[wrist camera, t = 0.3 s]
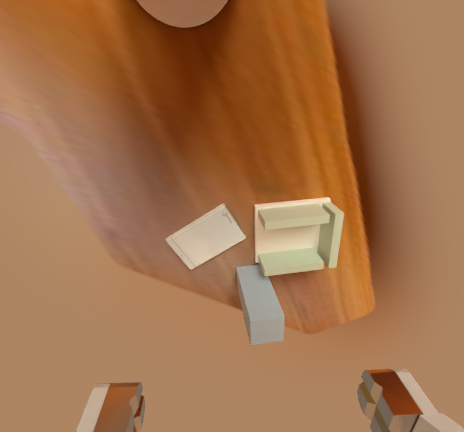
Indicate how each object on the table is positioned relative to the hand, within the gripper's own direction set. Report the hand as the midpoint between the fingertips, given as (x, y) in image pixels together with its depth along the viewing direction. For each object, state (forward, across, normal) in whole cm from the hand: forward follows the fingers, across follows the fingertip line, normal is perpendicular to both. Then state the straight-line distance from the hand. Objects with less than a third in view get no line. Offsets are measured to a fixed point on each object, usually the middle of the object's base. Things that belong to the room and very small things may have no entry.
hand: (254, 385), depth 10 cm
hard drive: (+40, +3, +15) cm, 43 cm away
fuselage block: (+40, -6, +25) cm, 48 cm away
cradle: (+40, -13, +14) cm, 45 cm away
